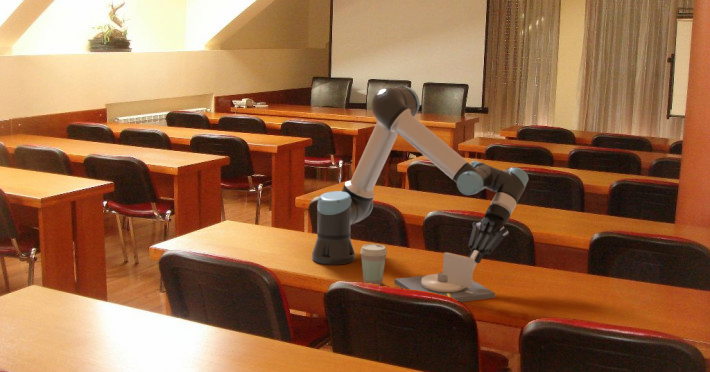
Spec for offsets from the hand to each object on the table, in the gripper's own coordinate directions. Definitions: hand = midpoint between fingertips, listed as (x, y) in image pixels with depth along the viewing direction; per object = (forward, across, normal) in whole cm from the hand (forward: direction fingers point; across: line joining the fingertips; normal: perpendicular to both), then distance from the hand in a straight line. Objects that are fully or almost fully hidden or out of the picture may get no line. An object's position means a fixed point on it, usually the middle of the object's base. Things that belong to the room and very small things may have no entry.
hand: (468, 269), depth 247 cm
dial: (+8, +4, +1) cm, 8 cm away
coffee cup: (+16, +25, +7) cm, 31 cm away
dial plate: (+9, +5, 0) cm, 10 cm away
